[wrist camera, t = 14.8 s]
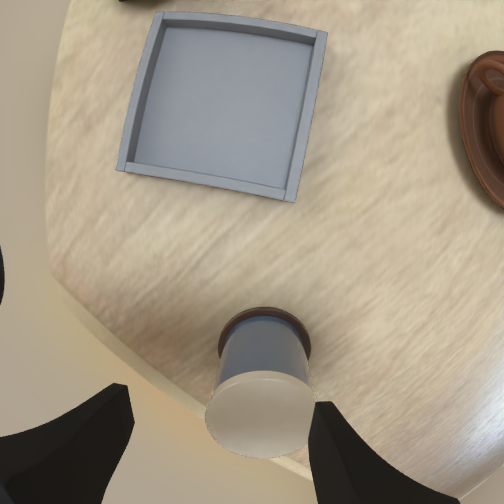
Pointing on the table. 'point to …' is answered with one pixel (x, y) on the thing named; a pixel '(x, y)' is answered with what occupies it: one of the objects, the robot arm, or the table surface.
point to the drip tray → (224, 102)
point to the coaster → (266, 312)
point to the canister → (262, 390)
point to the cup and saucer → (485, 121)
